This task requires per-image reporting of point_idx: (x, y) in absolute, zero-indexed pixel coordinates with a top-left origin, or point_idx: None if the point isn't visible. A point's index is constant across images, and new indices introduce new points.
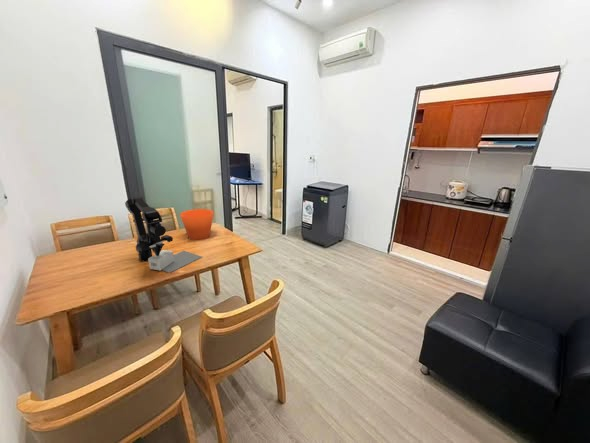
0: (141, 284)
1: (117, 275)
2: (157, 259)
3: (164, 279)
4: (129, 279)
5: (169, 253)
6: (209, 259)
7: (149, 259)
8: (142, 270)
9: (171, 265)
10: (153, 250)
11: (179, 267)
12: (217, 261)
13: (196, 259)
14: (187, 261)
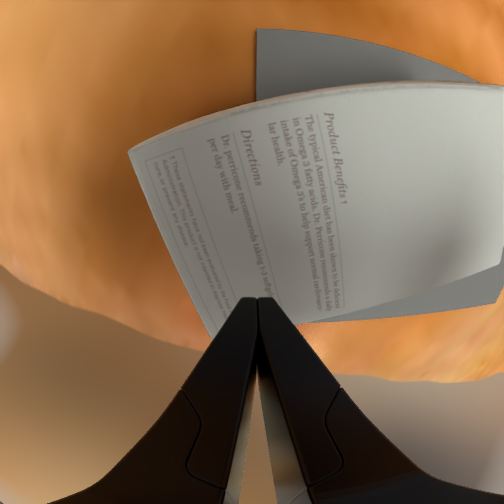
0: (64, 283)
1: (11, 29)
2: (213, 326)
3: (184, 345)
4: (24, 155)
5: (446, 281)
6: (470, 341)
7: (143, 179)
8: (139, 67)
9: None
10: (174, 436)
11: (347, 319)
12: (450, 374)
13: (467, 307)
14: (440, 288)
